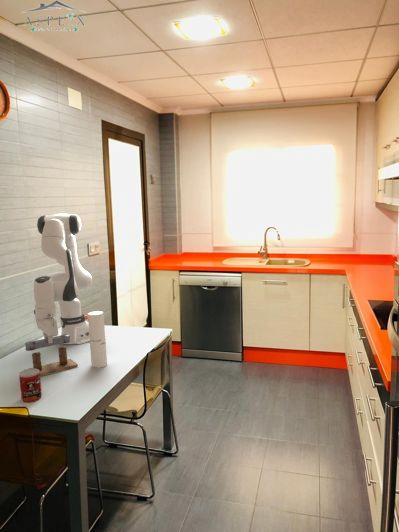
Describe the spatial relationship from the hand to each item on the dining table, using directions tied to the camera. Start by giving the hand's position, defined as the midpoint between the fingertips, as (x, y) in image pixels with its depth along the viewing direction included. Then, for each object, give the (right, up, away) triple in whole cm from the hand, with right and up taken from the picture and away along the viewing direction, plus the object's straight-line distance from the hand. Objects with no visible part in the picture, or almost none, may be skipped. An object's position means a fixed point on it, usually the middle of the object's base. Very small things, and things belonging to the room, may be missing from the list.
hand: (48, 341), depth 208 cm
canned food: (+3, -18, -28) cm, 33 cm away
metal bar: (0, -2, 0) cm, 2 cm away
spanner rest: (0, -13, +2) cm, 13 cm away
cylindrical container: (+22, -12, +6) cm, 26 cm away
